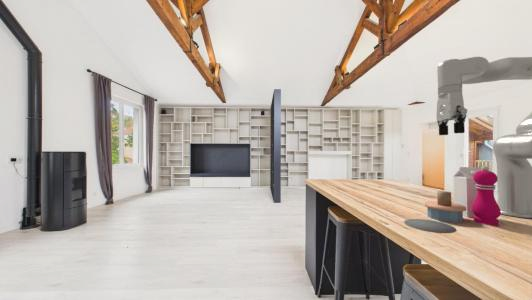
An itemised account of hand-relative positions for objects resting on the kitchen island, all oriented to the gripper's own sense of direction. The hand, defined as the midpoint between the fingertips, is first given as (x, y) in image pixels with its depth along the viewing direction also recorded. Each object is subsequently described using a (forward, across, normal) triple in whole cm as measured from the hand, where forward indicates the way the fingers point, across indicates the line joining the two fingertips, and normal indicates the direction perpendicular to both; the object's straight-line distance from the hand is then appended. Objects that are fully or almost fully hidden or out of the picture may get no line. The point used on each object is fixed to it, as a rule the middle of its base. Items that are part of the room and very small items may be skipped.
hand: (451, 134), depth 88 cm
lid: (+28, +8, -7) cm, 30 cm away
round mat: (+32, +18, -17) cm, 40 cm away
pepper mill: (+32, +11, +4) cm, 34 cm away
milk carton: (+32, +2, +5) cm, 33 cm away
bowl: (+32, +8, -7) cm, 34 cm away
